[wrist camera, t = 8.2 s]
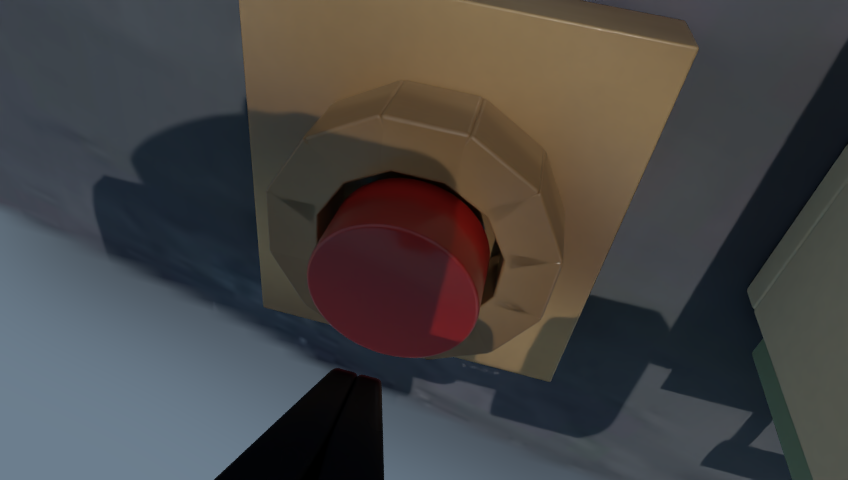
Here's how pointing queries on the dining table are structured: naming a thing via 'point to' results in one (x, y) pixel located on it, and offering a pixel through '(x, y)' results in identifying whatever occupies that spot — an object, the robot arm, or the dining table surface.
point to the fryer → (812, 322)
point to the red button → (401, 268)
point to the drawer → (781, 415)
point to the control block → (462, 139)
